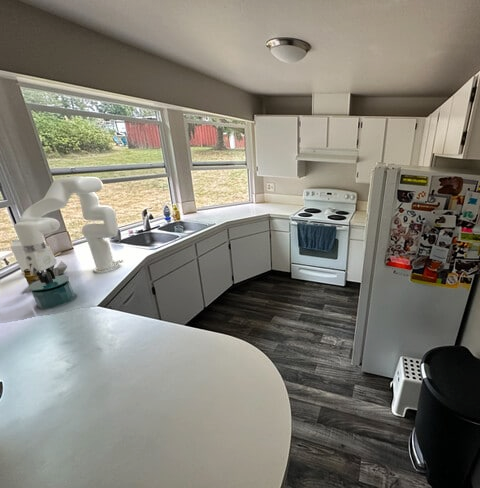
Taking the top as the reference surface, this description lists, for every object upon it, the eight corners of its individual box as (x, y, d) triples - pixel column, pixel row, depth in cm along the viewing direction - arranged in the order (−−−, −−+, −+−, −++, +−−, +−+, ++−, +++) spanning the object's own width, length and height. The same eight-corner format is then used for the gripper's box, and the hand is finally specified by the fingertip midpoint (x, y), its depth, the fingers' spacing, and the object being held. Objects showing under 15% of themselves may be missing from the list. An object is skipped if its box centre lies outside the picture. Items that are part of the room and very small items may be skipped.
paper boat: (54, 277, 153) (37, 273, 151) (60, 281, 158) (44, 278, 156) (69, 260, 160) (53, 257, 159) (74, 265, 165) (59, 262, 164)
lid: (66, 274, 137) (62, 263, 135) (73, 282, 129) (69, 271, 127) (26, 285, 126) (20, 273, 123) (31, 295, 118) (25, 282, 115)
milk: (35, 272, 159) (22, 240, 152) (22, 274, 157) (8, 241, 149) (41, 268, 164) (28, 237, 157) (28, 270, 162) (14, 238, 154)
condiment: (44, 288, 142) (37, 270, 138) (23, 293, 137) (14, 273, 133) (48, 283, 148) (41, 265, 143) (28, 287, 143) (19, 268, 139)
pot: (70, 290, 141) (64, 275, 138) (79, 301, 131) (73, 286, 128) (34, 300, 131) (27, 285, 128) (42, 314, 121) (34, 297, 117)
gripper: (28, 253, 113) (43, 288, 120) (58, 241, 128) (69, 273, 135) (8, 253, 112) (24, 289, 118) (41, 241, 127) (53, 273, 134)
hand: (48, 280), depth 127 cm, fingers closed on lid, 3 cm apart
